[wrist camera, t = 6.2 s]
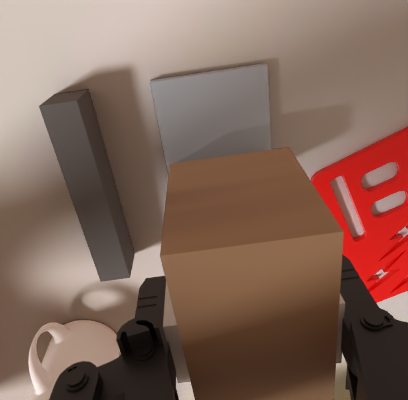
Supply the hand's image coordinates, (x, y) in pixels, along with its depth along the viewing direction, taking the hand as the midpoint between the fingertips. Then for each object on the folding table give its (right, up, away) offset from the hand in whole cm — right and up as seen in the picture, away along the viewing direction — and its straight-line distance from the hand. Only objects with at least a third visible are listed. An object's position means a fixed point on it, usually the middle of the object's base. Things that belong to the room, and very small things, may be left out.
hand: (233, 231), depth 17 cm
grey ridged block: (0, +5, +19) cm, 20 cm away
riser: (-12, +3, +19) cm, 23 cm away
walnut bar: (+1, -6, 0) cm, 6 cm away
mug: (-17, -15, +29) cm, 37 cm away
